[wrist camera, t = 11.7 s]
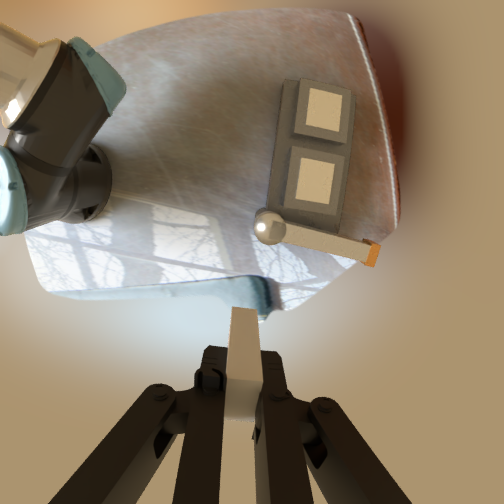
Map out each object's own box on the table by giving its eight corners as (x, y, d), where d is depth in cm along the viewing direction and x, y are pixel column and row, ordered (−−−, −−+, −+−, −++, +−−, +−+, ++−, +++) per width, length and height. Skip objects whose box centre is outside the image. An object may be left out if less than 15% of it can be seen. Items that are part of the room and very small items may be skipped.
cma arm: (250, 236, 38) (251, 241, 35) (257, 207, 37) (258, 210, 34) (364, 263, 39) (372, 270, 36) (372, 237, 38) (381, 242, 35)
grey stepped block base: (252, 233, 46) (254, 244, 38) (273, 83, 39) (279, 65, 32) (329, 243, 47) (345, 256, 39) (349, 100, 40) (368, 87, 32)
